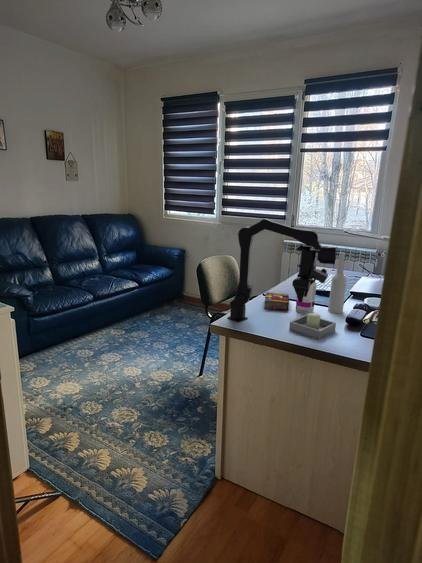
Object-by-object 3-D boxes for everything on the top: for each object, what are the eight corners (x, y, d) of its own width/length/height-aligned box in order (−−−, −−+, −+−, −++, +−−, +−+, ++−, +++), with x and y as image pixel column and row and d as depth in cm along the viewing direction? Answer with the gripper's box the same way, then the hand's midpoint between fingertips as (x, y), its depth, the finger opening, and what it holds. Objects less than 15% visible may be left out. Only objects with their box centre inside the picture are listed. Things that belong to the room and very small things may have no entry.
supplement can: (303, 314, 163) (306, 283, 159) (291, 309, 170) (294, 278, 166) (317, 312, 167) (320, 281, 163) (305, 307, 174) (307, 277, 170)
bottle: (345, 312, 168) (353, 253, 161) (336, 314, 165) (343, 254, 158) (334, 308, 174) (341, 251, 167) (325, 310, 170) (331, 252, 163)
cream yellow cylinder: (314, 332, 141) (316, 318, 140) (303, 328, 144) (304, 314, 143) (320, 329, 145) (322, 315, 143) (309, 325, 148) (311, 312, 146)
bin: (319, 339, 136) (320, 331, 135) (289, 329, 145) (289, 321, 144) (335, 331, 145) (336, 322, 144) (306, 322, 154) (306, 314, 153)
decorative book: (287, 302, 182) (288, 292, 181) (288, 312, 167) (289, 302, 165) (265, 300, 184) (266, 291, 183) (263, 310, 169) (264, 300, 168)
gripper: (324, 268, 131) (319, 309, 135) (331, 260, 147) (326, 297, 151) (294, 264, 135) (289, 304, 139) (304, 257, 152) (300, 292, 156)
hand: (302, 299), depth 146 cm, fingers open, 9 cm apart
